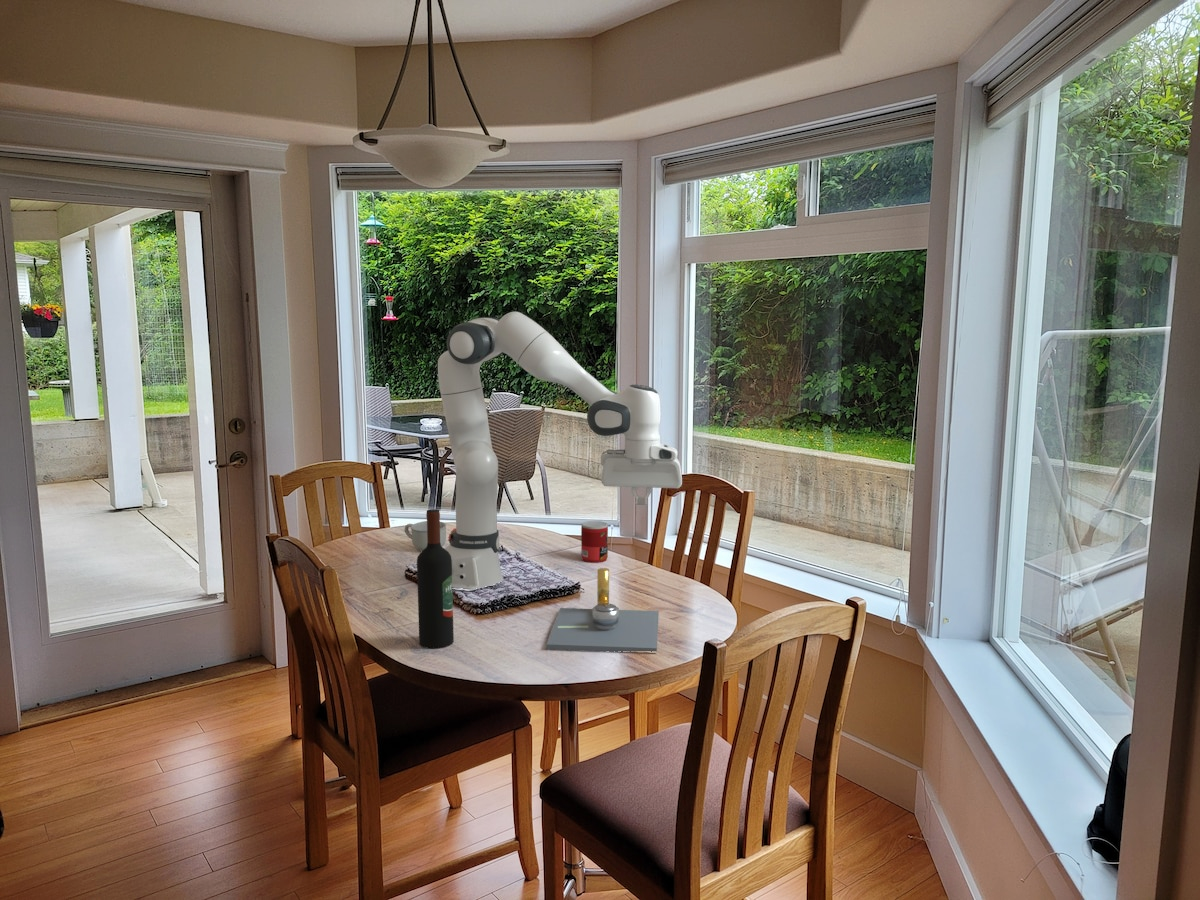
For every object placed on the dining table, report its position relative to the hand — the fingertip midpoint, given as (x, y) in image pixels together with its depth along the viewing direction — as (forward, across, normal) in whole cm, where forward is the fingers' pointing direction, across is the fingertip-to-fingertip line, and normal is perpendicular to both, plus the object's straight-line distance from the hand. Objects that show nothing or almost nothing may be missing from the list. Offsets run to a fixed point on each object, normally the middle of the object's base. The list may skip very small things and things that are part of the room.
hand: (641, 504), depth 215 cm
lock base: (+25, -7, -23) cm, 35 cm away
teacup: (+26, -70, +43) cm, 86 cm away
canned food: (+25, -16, +37) cm, 47 cm away
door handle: (+23, -7, -18) cm, 30 cm away
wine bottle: (+26, -44, -33) cm, 61 cm away
